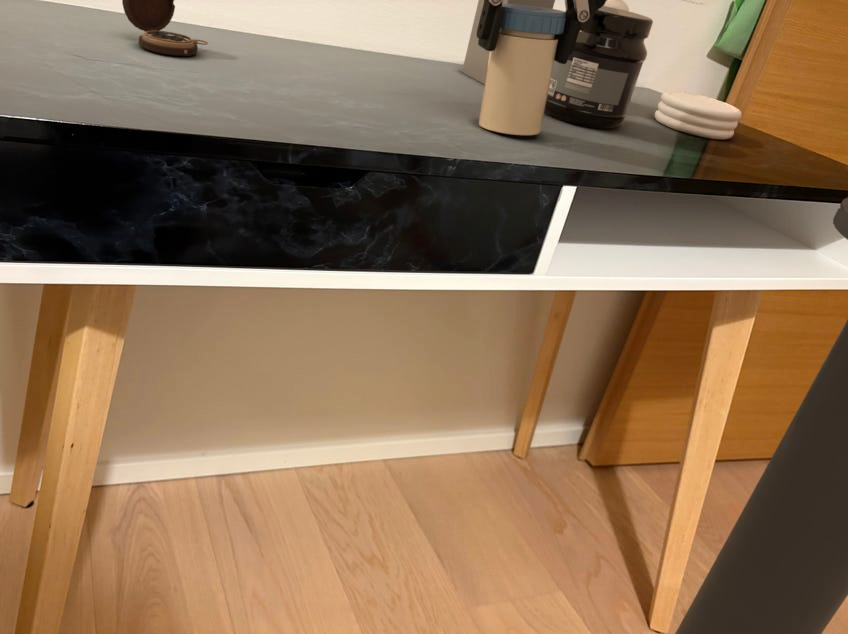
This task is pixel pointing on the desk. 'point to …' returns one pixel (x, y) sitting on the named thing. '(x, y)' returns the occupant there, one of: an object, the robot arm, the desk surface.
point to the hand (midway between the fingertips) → (522, 53)
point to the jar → (518, 82)
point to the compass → (158, 27)
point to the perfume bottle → (477, 55)
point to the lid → (533, 19)
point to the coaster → (697, 115)
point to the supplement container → (600, 70)
